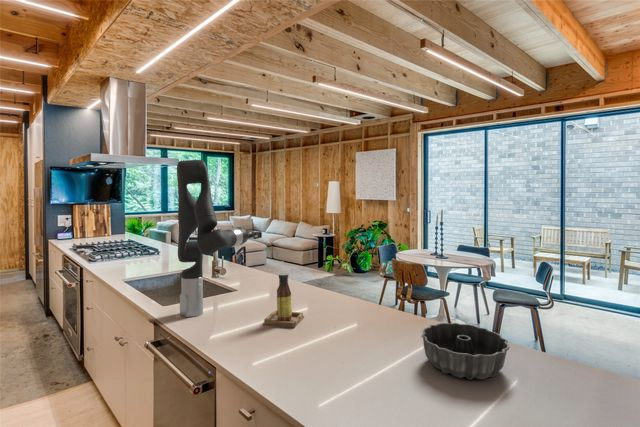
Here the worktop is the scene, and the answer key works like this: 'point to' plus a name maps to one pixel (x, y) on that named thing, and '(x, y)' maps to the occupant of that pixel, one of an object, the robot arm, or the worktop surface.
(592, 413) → the worktop surface
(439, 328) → the bundt pan
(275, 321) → the dock
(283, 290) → the sauce bottle
